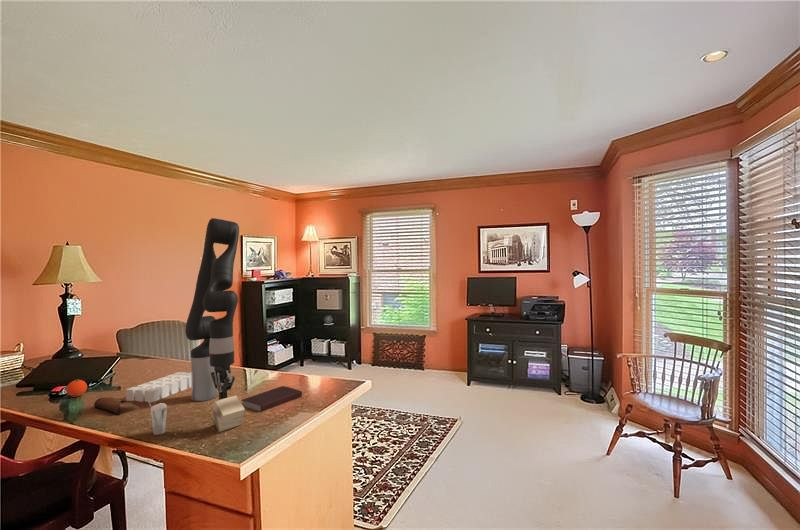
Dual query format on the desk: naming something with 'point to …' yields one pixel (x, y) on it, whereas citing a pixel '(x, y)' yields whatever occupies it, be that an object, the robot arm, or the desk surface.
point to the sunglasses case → (115, 405)
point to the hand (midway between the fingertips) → (223, 402)
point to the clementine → (76, 388)
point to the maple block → (227, 413)
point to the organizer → (159, 387)
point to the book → (271, 398)
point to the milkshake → (158, 418)
